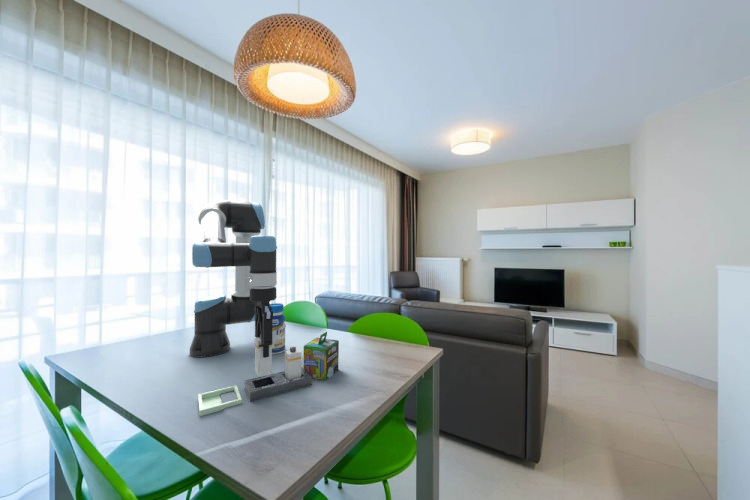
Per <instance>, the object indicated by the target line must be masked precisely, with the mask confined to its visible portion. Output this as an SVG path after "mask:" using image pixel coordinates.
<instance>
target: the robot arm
mask: <svg viewBox="0 0 750 500" xmlns="http://www.w3.org/2000/svg"><path fill="white" fill-rule="evenodd" d="M264 212H265V211H264V209H263V206H262V204H260V203H258V202H253V201H241V200H239V201H238V200H228V199H227V200H226V199H222V200H221V199H219V200H218V199H217V200H215V201H212V202H209V203H207V204H206V205H205V206H203V207H202V209H200V211H199V213H198V218H197V221H198V224H199V225H200V242H195V243H193V244H192V247H191V248H192V249H191V252H192V253H191V254H192V255H191V259H192V260H191V261H192V265H193V266H194V267H195V268H225V267H226V268H228V267H235V272H234V274H235V275H234V276H235V279H234V280H235V284H234V286H235V287H234V290H233V291H232V292H231V297H227V296H226V294H216V295H210V296H206V297H202V298H199V299H197V300H196V301H195V302H194V310H193V313H194V336H193V338H192V342H191V343H190V347H189V356H190V355H191V356H190V357H193V356H194V357H195V358H207V357H214V356H218V355H221V354H224V353H226V352H228V351H229V350H231V341H230V339H229V336H228V334H227V331H226V329H227V328H226V327H227V326H226V325H234V324H235V325H236V324H244V323H245V324H246V323H251V322H254V330H255V331H254V338H258V337H260V334H261V345H258V346H259V347H260V369H263V368H267V367H270V345H272V343H273V342H272V319H273V311H272V308H271V306H270V304H271V303H270V302H272V301H275V300H277V287H275V286H277V285H278V283H277V279H278V277H277V275H278V274H277V249H278V246H277V239H276V237H275V236H273V235H261V230H264V229H265V227H266V226H265V225H266V224H265V221H266V220H265V213H264ZM225 228H226V229H231V233H232V234H233V236H235V242H227V237H226V229H225Z"/></svg>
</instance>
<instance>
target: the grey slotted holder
mask: <svg viewBox="0 0 750 500" xmlns="http://www.w3.org/2000/svg"><path fill="white" fill-rule="evenodd" d="M243 381H244V391H245V394H246V395H247V398H248V400H249V402H255V401H258V400H261V399H266V398H269V397H273V396H275V395H276V396H277V395H281V394H283V393H287V392H291V391H294V390H298V389H302V388H305V387H308V386H312V383H313V382H312V381H313V378H312V376H311V375H310V374H309V373H308V372H307V371H306V370H305V369H304V366H301V377H298V378H294V379H290V380H286V378H285V370H283V371H279V372H274V373H269V374H264V375H260V376H258V377H253V378H249V379H246V380H243Z"/></svg>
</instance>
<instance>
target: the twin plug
mask: <svg viewBox="0 0 750 500" xmlns="http://www.w3.org/2000/svg"><path fill="white" fill-rule="evenodd" d="M301 367H302V351H301V350H300V349H298V348H297V347H296V346H290V348H289V349H287V350H286V349H285V351H284V371H285V378H286V380H290V379H294V378H298V377H301Z"/></svg>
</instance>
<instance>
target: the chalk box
mask: <svg viewBox="0 0 750 500" xmlns="http://www.w3.org/2000/svg"><path fill="white" fill-rule="evenodd" d="M327 336H328V331H325V332H323V333H322V334H320V336H319V337H315V338H314V339H312V340H311V341H309V342H308V343H305V344H304V345H303V368H304V369H305V370H306V371H307V372H308V373H309V374H310V375H311V376H312V379H317V380H323V381H327V380H329V379H330V378H331V377H332V376H333V375H335V374H336V373H337V372H338V371H339V358H340V357H339V355H340V353H339V350H340V349H339V347H340V346H339V344H340V341H339V340H338V339H333V338H332V339H330V338H327Z"/></svg>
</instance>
